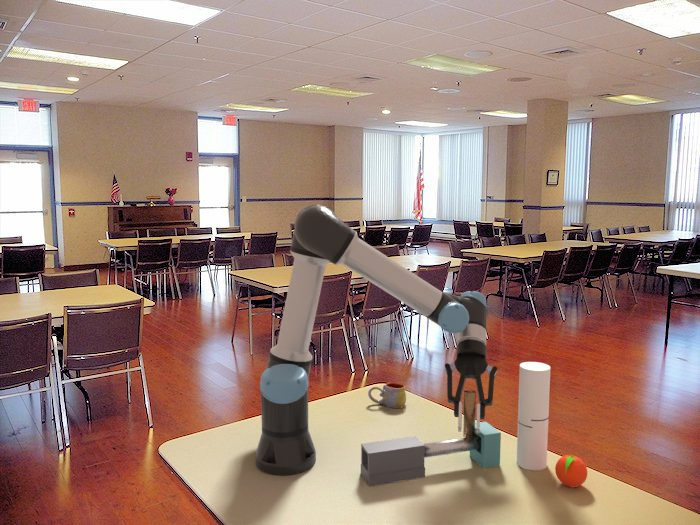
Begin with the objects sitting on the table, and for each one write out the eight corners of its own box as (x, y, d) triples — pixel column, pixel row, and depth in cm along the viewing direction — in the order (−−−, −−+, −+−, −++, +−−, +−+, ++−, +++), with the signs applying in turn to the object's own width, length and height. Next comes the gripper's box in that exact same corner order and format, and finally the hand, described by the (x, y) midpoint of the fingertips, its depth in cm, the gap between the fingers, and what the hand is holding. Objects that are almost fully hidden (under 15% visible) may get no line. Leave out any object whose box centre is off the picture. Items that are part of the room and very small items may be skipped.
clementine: (580, 498, 127) (582, 468, 126) (549, 488, 131) (550, 459, 130) (590, 483, 133) (591, 454, 133) (559, 474, 138) (561, 446, 137)
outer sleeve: (360, 473, 139) (360, 442, 138) (414, 464, 143) (414, 435, 142) (369, 486, 133) (369, 454, 132) (425, 477, 137) (425, 446, 136)
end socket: (469, 455, 148) (470, 423, 147) (485, 453, 149) (486, 421, 148) (483, 468, 141) (484, 435, 140) (499, 465, 142) (500, 432, 141)
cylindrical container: (548, 471, 139) (552, 371, 136) (517, 469, 140) (521, 369, 137) (544, 458, 146) (548, 362, 143) (515, 455, 147) (518, 361, 144)
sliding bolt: (417, 454, 141) (417, 395, 139) (482, 444, 146) (484, 387, 144) (422, 460, 138) (423, 400, 136) (489, 450, 143) (490, 392, 141)
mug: (406, 401, 185) (406, 381, 185) (405, 409, 179) (405, 389, 178) (369, 399, 187) (369, 380, 186) (367, 407, 181) (367, 387, 180)
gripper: (503, 353, 154) (503, 439, 140) (440, 350, 157) (434, 433, 143) (504, 339, 148) (505, 427, 134) (439, 336, 151) (433, 421, 138)
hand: (468, 430), depth 139 cm, fingers open, 4 cm apart
